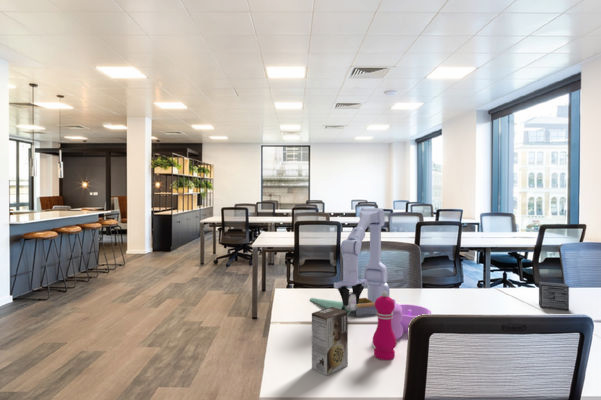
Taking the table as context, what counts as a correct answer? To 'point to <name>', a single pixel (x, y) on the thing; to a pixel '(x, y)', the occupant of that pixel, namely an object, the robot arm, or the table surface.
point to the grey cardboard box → (329, 340)
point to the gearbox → (364, 308)
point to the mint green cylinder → (330, 304)
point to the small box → (554, 296)
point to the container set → (405, 317)
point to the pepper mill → (384, 328)
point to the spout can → (351, 301)
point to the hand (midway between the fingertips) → (350, 304)
